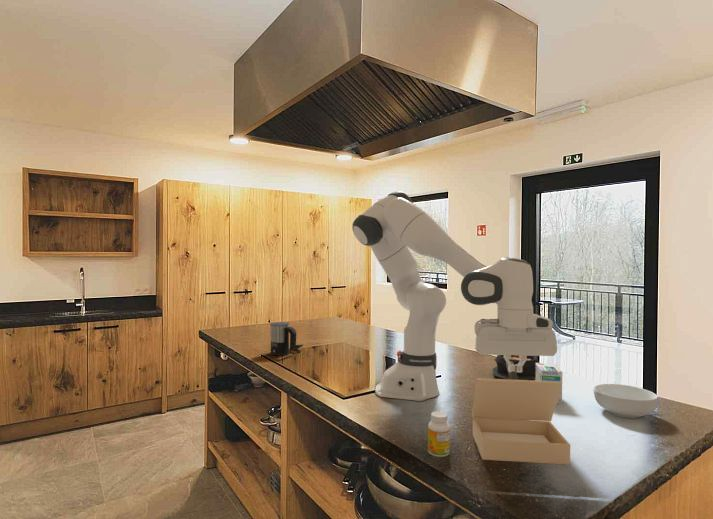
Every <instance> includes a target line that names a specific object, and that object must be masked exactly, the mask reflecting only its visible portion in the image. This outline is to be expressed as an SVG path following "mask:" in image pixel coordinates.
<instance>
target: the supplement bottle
mask: <svg viewBox="0 0 713 519" xmlns="http://www.w3.org/2000/svg"><path fill="white" fill-rule="evenodd" d="M430 419H431V420H430V421H429V422H428V426H427V453H428V454H430V455H432V456H435V457H441V458H442V457H447V456H448V455H450V453H451V451H450V450H451V425H450V422H448V419H449V418H448V414H447V412H445V411H440V410H436V411H432V412H431V414H430Z"/></svg>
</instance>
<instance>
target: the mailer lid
mask: <svg viewBox="0 0 713 519" xmlns="http://www.w3.org/2000/svg"><path fill="white" fill-rule="evenodd" d="M510 363H511V364H514V363H513V362H512V361H510ZM506 366H507V370H508V364H507V362H506ZM508 374H509V378H510V379H502V378H483V377H482V378H479V377H477V378H476V382H475V389H474V396H473V404H472V410H471V418H472V419H473V418H486V419H507V420H529V421H550V422H551V421H552V419H553V416H554V412H555V409H556V406H557V404H558V403H557V400H558V397H559V393H560V390H561V387H562V388H563V380H562V381H536V379H530V380H518V377H517V374H516V372H509V371H508Z"/></svg>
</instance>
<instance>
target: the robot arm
mask: <svg viewBox="0 0 713 519" xmlns="http://www.w3.org/2000/svg"><path fill="white" fill-rule="evenodd" d="M351 226H352V232H353V235H354V236H355V238H356V239H357V240H358V242H359V243H360V244H362V245H364V246H366V247H370V248H371V251H372V252H373V254H374V256H375V258H376V259H377V261H378V262H379V264H380V266H381V267H382V269H383V271H384V272H385V274H386V275H387V277H388V279H389V281H390V283H391V285H392V288H393V291H394V293H395V295H396V299H397V301H398V303H399V304H400V306H402V308H403V309H405V310H407V311H409V316H408V320H407V324H406V326H405V327H404V329H403V350H400V349H398V350H397V351H396V356H397V362H396V363H395V364H393V365H392V366H390V367H388V368H387V369H386V370H385V371H384V373H383V375H382V378H381V382H379V383H377V384H376V386H375V394H376V395H377V396H378V397H380V398H381V397H382V398H390V399H400V400H408V401H418V402H422V401H425V400H427V399H431V398H436V397H437V396H439V395H440V390H439V386H438V381H437V371H436V370H437V363H438V362H437V361H438V360H437V357H438V356H437V353H436V332H437V326H438V323H439V319H440V315H441V313H442V312H444V309H445V307H446V304H447V297H446V294H445V292H444V291H443V290H442V289H440V288H439V287H438V286H436V285H434V284H432V283H427V282H424V281H423V280H422V277H421V275H420V273H419V270H418V262H417V261H416V259H415V257H414V256H413V254H412V252H411V251H413V252H415V253H416V254H418V255H421V256H423V257H429V258H433V259H436V260H440V261H442V262H443V263H445V264H447V265H448V266H450V267H451V268H452V269H453V270H454V271H456V273H458V274H460V276H462V277H463V279H462V281H461V284H460V292H461V295H462V297H463V298H464V299H465V300H466V302H468V303H470V304H472V305H475V306H486V305H489V304H496V305H497V318H489V319H487V318H481V319H480V320H478V321H476V322H475V324H474V334H475V344H474V348H475V349H474V350H475V351H476V353H478V355H484V356H486V355H487V356H488V355H489V356H490V355H491V356H497V355H504V359H505V361H506V362H507V364H508V371H509V372H522V366H523V365H524V363H525V362H526V360H527V356H535V357H537V356H538V357H540V356H541V357H554V356H555V355H556V354H557V353H558V344H557V343H558V341H557V336H556V333H555V331H554V330H553V329H552V328H553V326H554V323H553V322H554V321H553V320H551V319H550V318H548V317H545V316H542V315H540V314H537V313H534V305H533V302H532V301H533V300H532V298H533V293H534V279H533V278H534V277H533V275H534V274H533V269H532V267H531V264H530V263H529V262H528V261H526V260H525V259H521V258H517V257H509V256H507V257H505V256H504V257H501V258H499V260H497V261H496V262H494V263H491V264H489V265H488V266H487V265H484V264H482V263H481V262H480V261H478V260H477V259H476V258H475V257H474V256H472V255H471V254H470V253H469V252H467V251H466V250H465V249H463V248H462V246H460V245H459V244H458V243H456V242H455V241H454V239H452V237H450V236H449V234H448V233H447V232H446V231H445V230H444V229H443V228H442V227H441V226H440V225H439V224H438V223H437V222H436V221H435V220H434V218H432V217H431V216H430V215H429V214H428V213H427V212H426V211H424V210H423V209H422V208H420V207H419V206H417V205H416V204H415V203H414V202H413V200H412V199H411V197H410V196H409V195H408V194H406V193H405V192H403V191H401V190H400V191H399V190H397V191H394V192H391V193H389V194H387V195H386V196H385V197H383V198H380V199H379V200H378V201H376V202H374V203H373V204H372V205H371V206H370V207H369V208H367V209H366V210H365V211H364V212H363V213H362V214H359V215H358V216H357V217H356V218H355V219H354V220H353V222H352V225H351ZM410 250H411V251H410ZM511 355H519V358H521V360H520V361H519V363H518V364H515V365H514V364H511V363H510V361H509V359H511Z"/></svg>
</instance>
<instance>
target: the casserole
mask: <svg viewBox="0 0 713 519" xmlns="http://www.w3.org/2000/svg"><path fill="white" fill-rule="evenodd" d="M520 360H521V358H519V355H511V359H509V361H512V362H513V363H514V365H515V364H518V363H519V361H520ZM494 362H496V363H495V364H496V366H494V367H493V368H492V375H493V376H494V377H495V378H497V379H510V378H509V374H508V370H507V366H506V361H505V359H504V355H496V357H495V358H494ZM536 363H540V361H539V360H538V358H537V356H527V360H526V362H525V363H524V365H523V366H522V372H516V374H517V377H518V380H536Z"/></svg>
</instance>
